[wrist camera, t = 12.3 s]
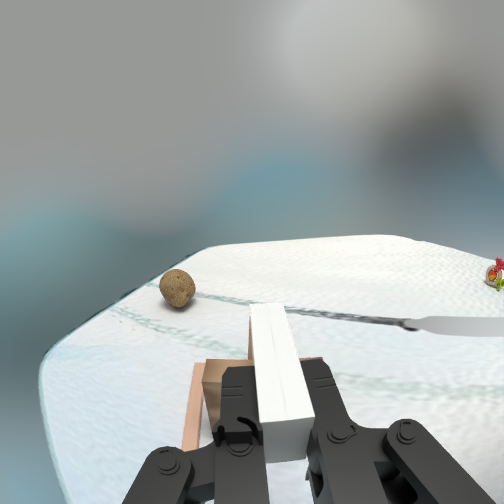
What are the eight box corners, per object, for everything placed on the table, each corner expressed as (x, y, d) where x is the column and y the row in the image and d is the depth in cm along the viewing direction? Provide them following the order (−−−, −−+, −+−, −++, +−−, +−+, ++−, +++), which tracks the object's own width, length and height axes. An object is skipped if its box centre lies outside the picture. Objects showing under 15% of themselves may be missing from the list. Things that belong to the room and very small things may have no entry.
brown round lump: (182, 294, 76) (178, 260, 72) (204, 304, 71) (201, 268, 67) (156, 306, 69) (150, 271, 65) (178, 318, 64) (172, 280, 60)
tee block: (302, 375, 45) (309, 314, 41) (313, 438, 32) (328, 379, 28) (222, 376, 45) (216, 316, 41) (214, 440, 32) (201, 381, 28)
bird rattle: (484, 292, 70) (505, 291, 61) (481, 261, 70) (502, 258, 62) (488, 288, 72) (508, 286, 64) (486, 258, 73) (505, 255, 64)
